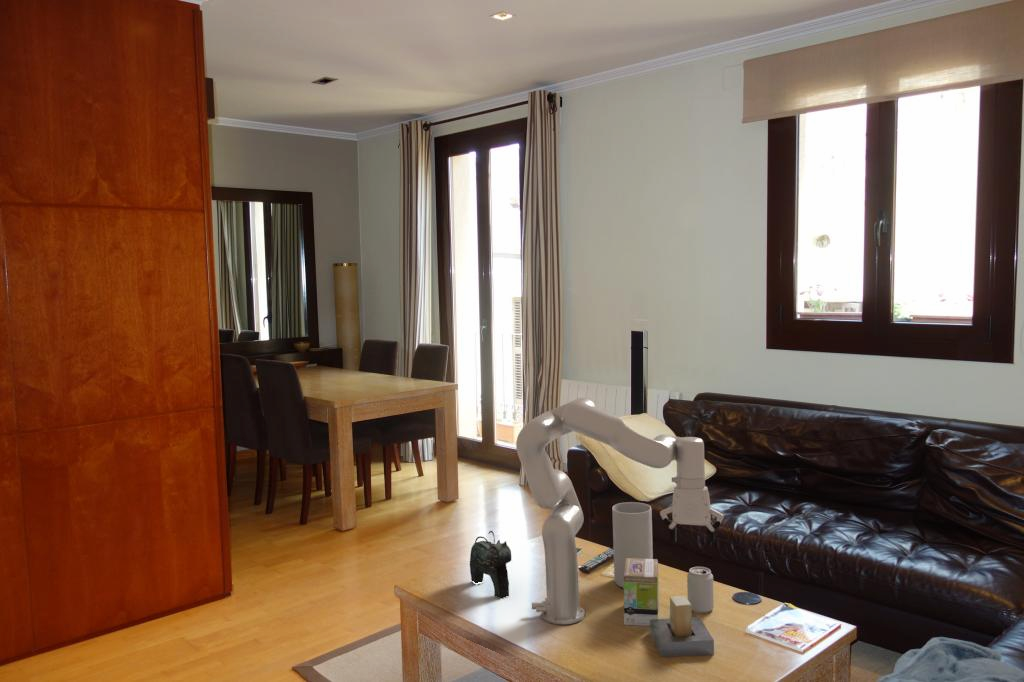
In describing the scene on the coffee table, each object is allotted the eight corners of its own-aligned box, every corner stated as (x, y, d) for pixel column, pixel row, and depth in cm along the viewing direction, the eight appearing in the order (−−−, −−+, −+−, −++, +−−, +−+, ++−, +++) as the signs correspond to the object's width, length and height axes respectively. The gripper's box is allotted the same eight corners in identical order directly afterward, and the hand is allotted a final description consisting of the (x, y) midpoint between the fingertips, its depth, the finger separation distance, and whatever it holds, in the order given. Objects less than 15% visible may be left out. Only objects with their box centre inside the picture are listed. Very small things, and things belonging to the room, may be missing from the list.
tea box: (659, 627, 222) (658, 576, 221) (623, 625, 224) (622, 575, 223) (659, 605, 237) (657, 557, 236) (625, 603, 239) (624, 556, 238)
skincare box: (669, 638, 215) (668, 595, 214) (685, 637, 215) (684, 594, 214) (676, 649, 209) (675, 605, 208) (692, 648, 209) (691, 604, 208)
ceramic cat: (515, 597, 247) (512, 535, 246) (497, 602, 244) (495, 540, 242) (481, 578, 264) (479, 520, 262) (465, 583, 260) (462, 524, 258)
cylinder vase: (659, 579, 256) (657, 505, 254) (644, 593, 246) (642, 515, 244) (624, 573, 263) (622, 500, 261) (608, 586, 253) (605, 510, 251)
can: (714, 615, 229) (713, 575, 228) (688, 613, 230) (687, 574, 229) (713, 604, 236) (712, 565, 235) (687, 603, 237) (686, 564, 237)
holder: (660, 657, 205) (660, 642, 204) (650, 633, 219) (649, 619, 218) (714, 654, 205) (713, 640, 205) (699, 630, 219) (699, 616, 219)
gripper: (657, 484, 215) (659, 545, 217) (722, 487, 210) (723, 549, 211) (661, 477, 222) (662, 536, 224) (724, 480, 217) (725, 540, 218)
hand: (692, 542), depth 217 cm, fingers open, 9 cm apart
